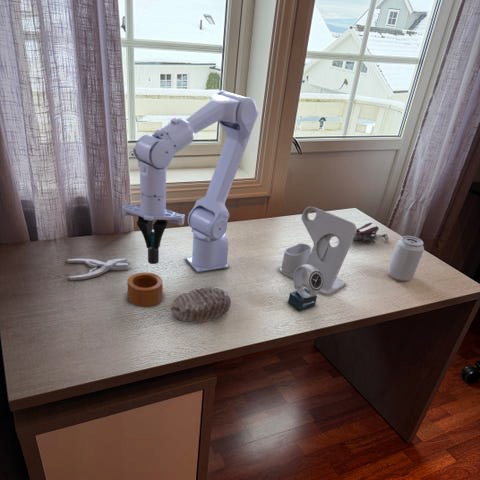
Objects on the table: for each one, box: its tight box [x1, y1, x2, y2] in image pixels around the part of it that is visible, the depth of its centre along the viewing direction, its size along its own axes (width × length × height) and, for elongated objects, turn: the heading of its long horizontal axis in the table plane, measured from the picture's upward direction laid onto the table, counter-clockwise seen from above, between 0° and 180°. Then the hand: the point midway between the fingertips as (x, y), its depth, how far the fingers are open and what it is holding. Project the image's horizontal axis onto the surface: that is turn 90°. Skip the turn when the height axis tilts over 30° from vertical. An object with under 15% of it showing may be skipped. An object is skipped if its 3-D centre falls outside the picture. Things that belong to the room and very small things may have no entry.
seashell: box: [170, 286, 232, 323], centre depth 104 cm, size 14×9×10 cm
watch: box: [287, 264, 324, 313], centre depth 111 cm, size 6×8×11 cm
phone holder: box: [279, 205, 358, 296], centre depth 121 cm, size 17×10×18 cm, turn 47°
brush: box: [147, 231, 160, 265], centre depth 108 cm, size 3×3×8 cm
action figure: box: [352, 222, 390, 244], centre depth 149 cm, size 8×6×18 cm
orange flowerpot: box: [126, 272, 164, 307], centre depth 108 cm, size 8×8×5 cm
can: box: [387, 235, 425, 282], centre depth 129 cm, size 8×8×12 cm
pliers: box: [66, 257, 129, 281], centre depth 117 cm, size 10×2×15 cm
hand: (153, 247), depth 108 cm, fingers closed on brush
